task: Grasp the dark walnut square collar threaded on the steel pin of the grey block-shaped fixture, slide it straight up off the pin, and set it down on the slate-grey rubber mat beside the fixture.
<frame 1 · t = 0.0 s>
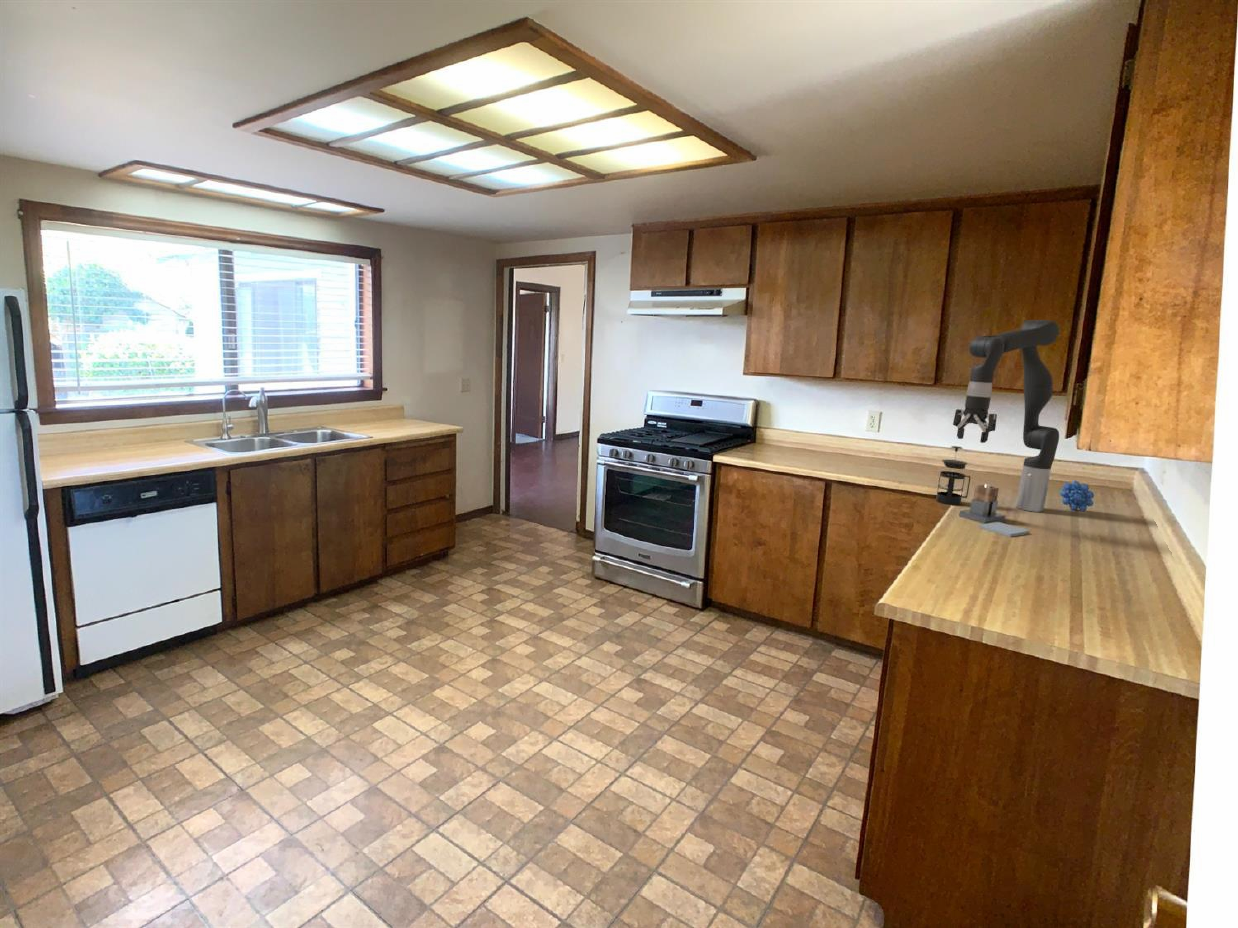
hand: (971, 440, 227), 29 cm above the counter, fingers open, 8 cm apart
mat: (1003, 530, 222), on the counter
collar: (984, 499, 235), point 7 cm above the counter, touching grey block-shaped fixture
french press: (949, 503, 258), on the counter
grey block-shaped fixture: (981, 518, 237), on the counter
grapes: (1074, 511, 255), on the counter
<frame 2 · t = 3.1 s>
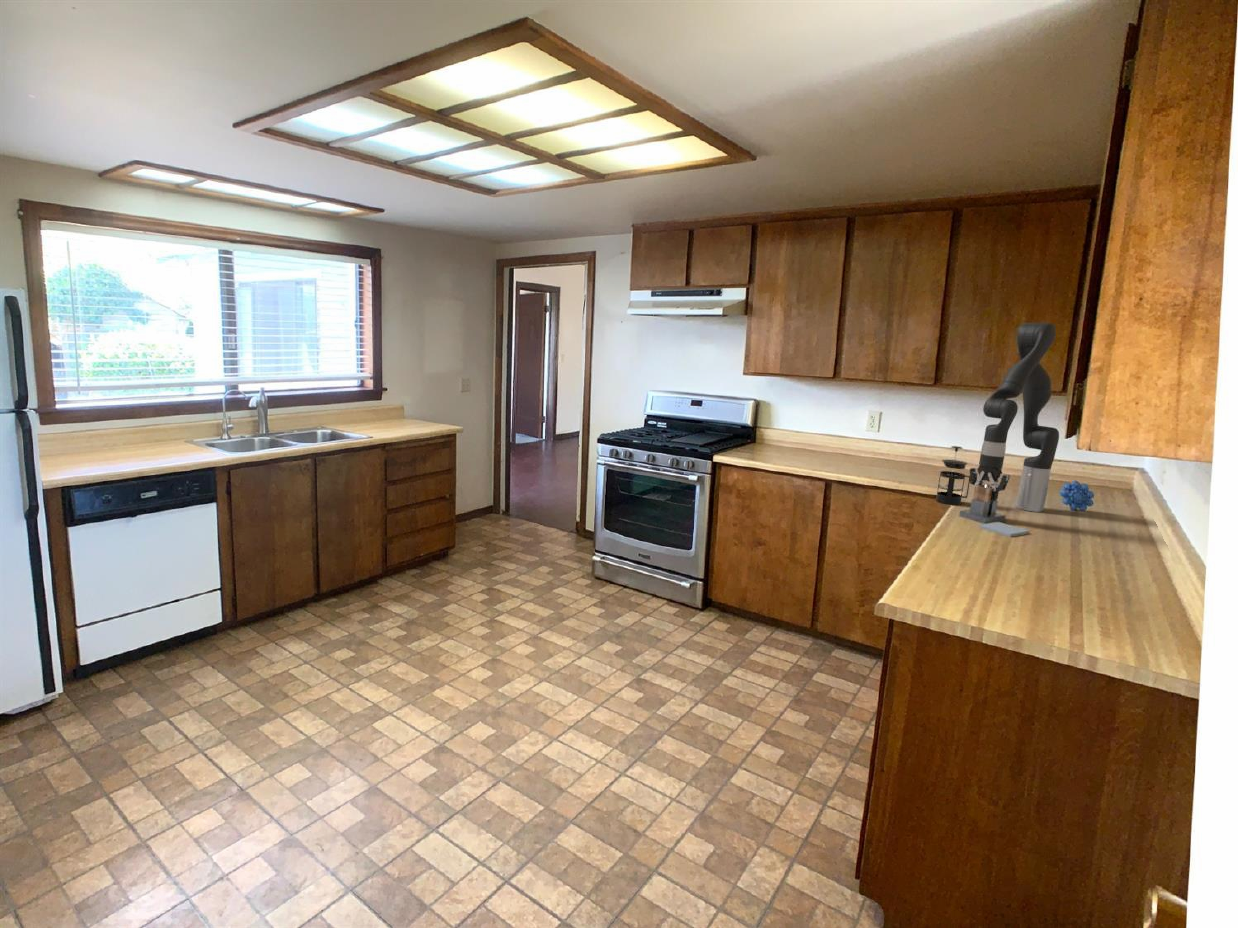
hand: (985, 498, 235), 8 cm above the counter, fingers closed on collar, 5 cm apart
collar: (984, 499, 235), point 7 cm above the counter, touching gripper, grey block-shaped fixture
everything else where it was.
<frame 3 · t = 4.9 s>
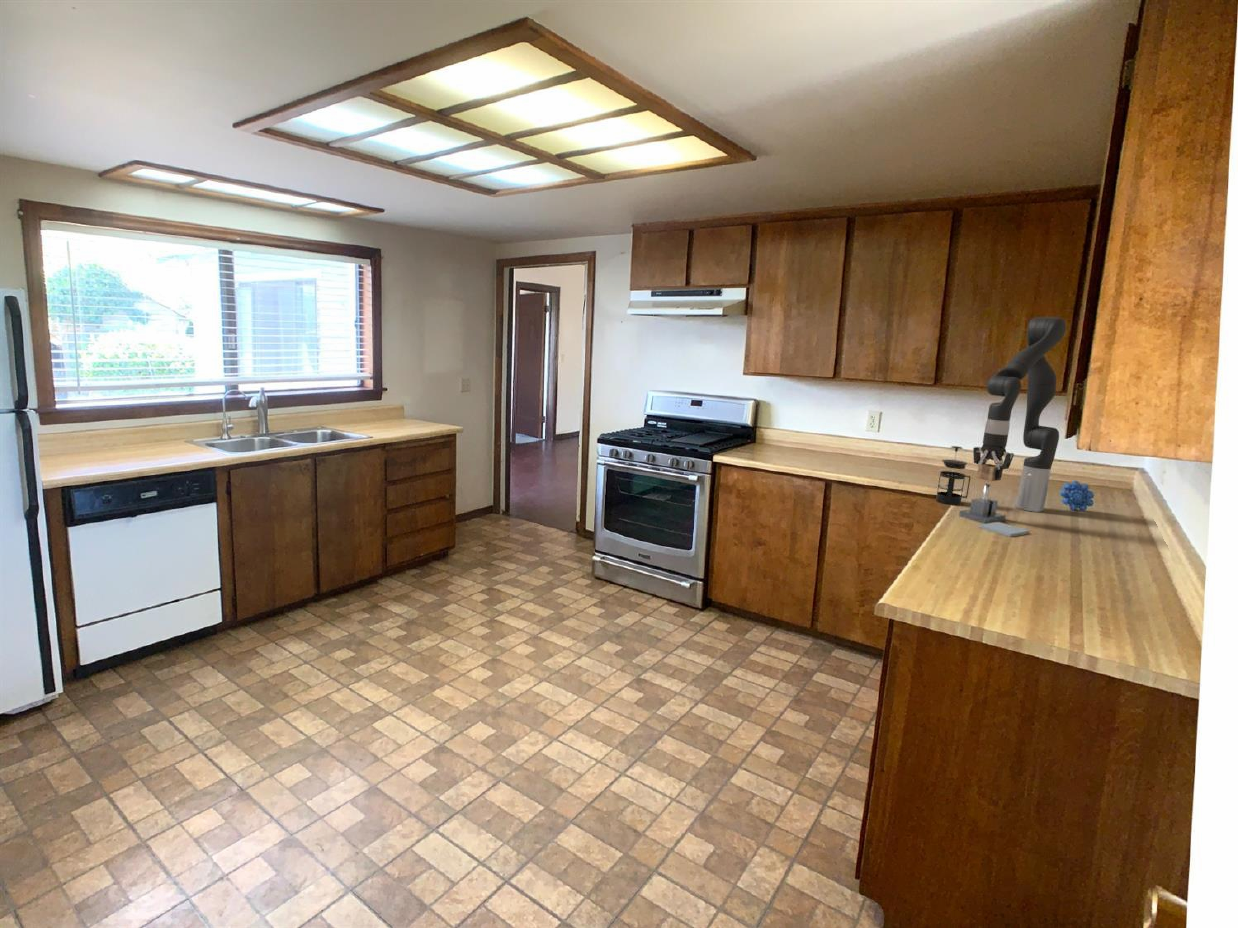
hand: (988, 477, 233), 15 cm above the counter, fingers closed on collar, 5 cm apart
collar: (988, 479, 234), point 15 cm above the counter, touching gripper
everything else where it was.
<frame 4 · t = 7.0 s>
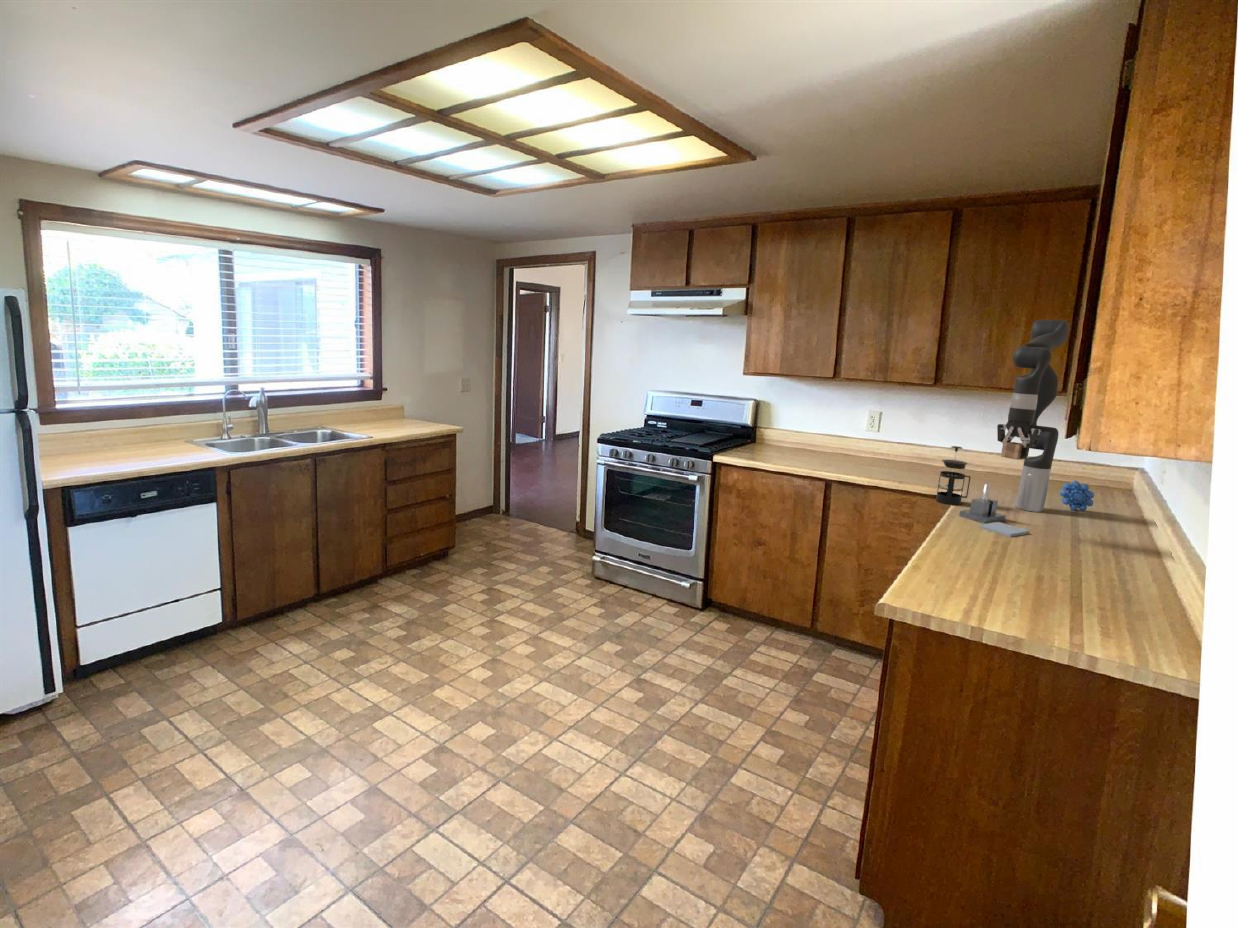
hand: (1014, 456, 217), 26 cm above the counter, fingers closed on collar, 5 cm apart
collar: (1013, 457, 217), point 26 cm above the counter, touching gripper
everything else where it was.
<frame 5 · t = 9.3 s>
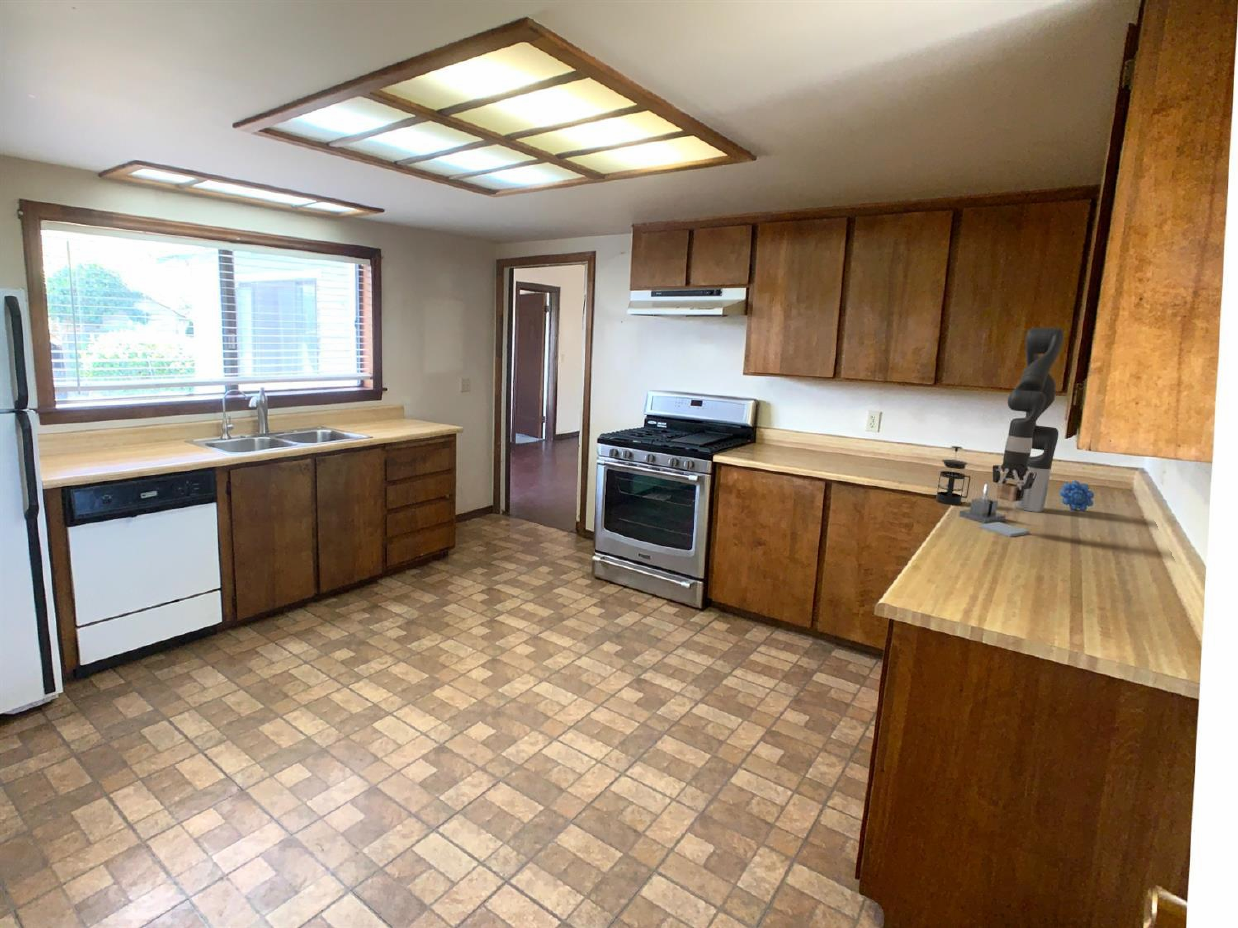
hand: (1009, 497, 219), 12 cm above the counter, fingers closed on collar, 5 cm apart
collar: (1008, 499, 219), point 11 cm above the counter, touching gripper
everything else where it was.
when the fingers open (3 cm above the counter, at t = 11.3 s): collar drops 1 cm, resting on mat.
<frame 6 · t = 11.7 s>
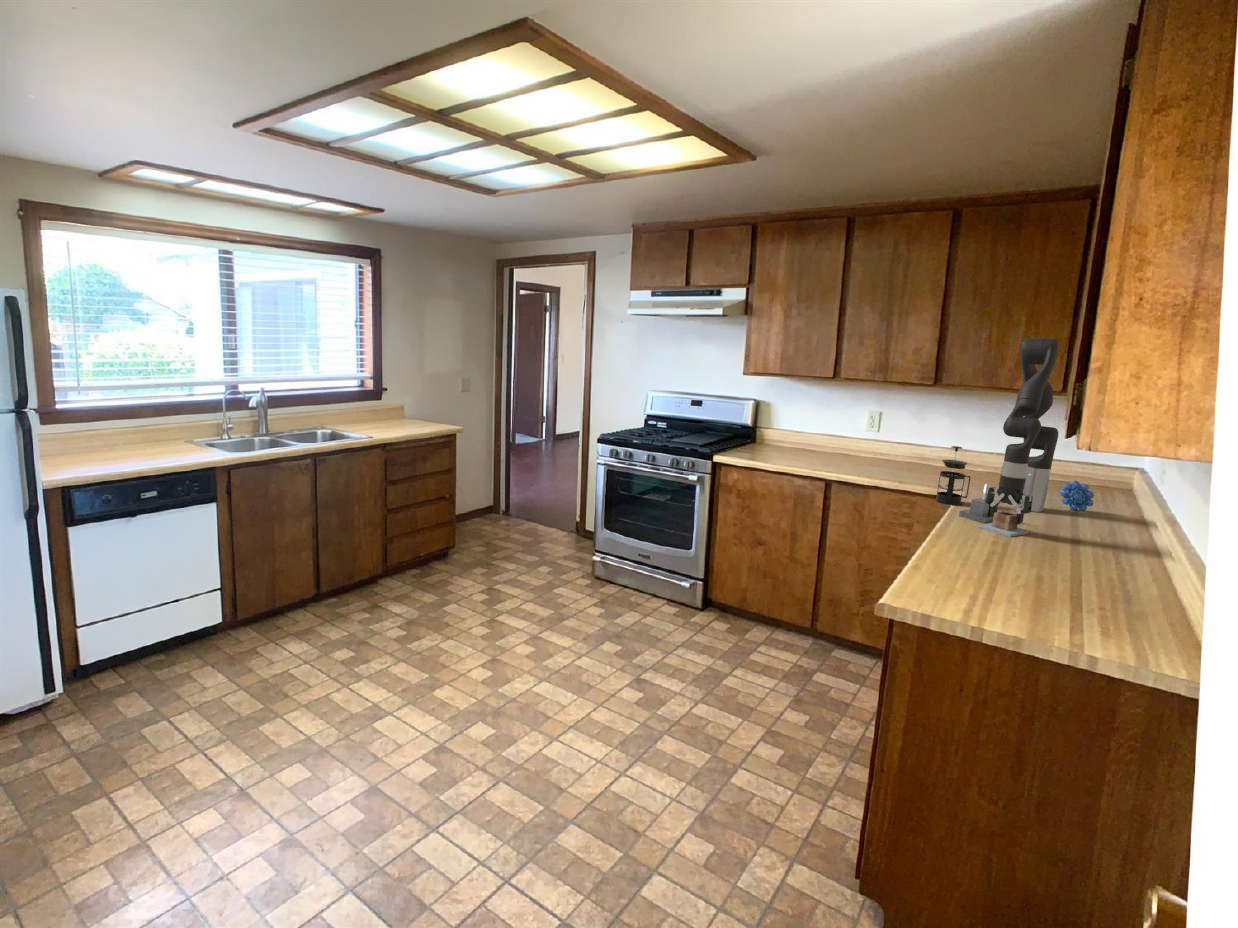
hand: (1005, 520, 221), 4 cm above the counter, fingers open, 8 cm apart
collar: (1004, 527, 221), point 1 cm above the counter, touching mat
everything else where it was.
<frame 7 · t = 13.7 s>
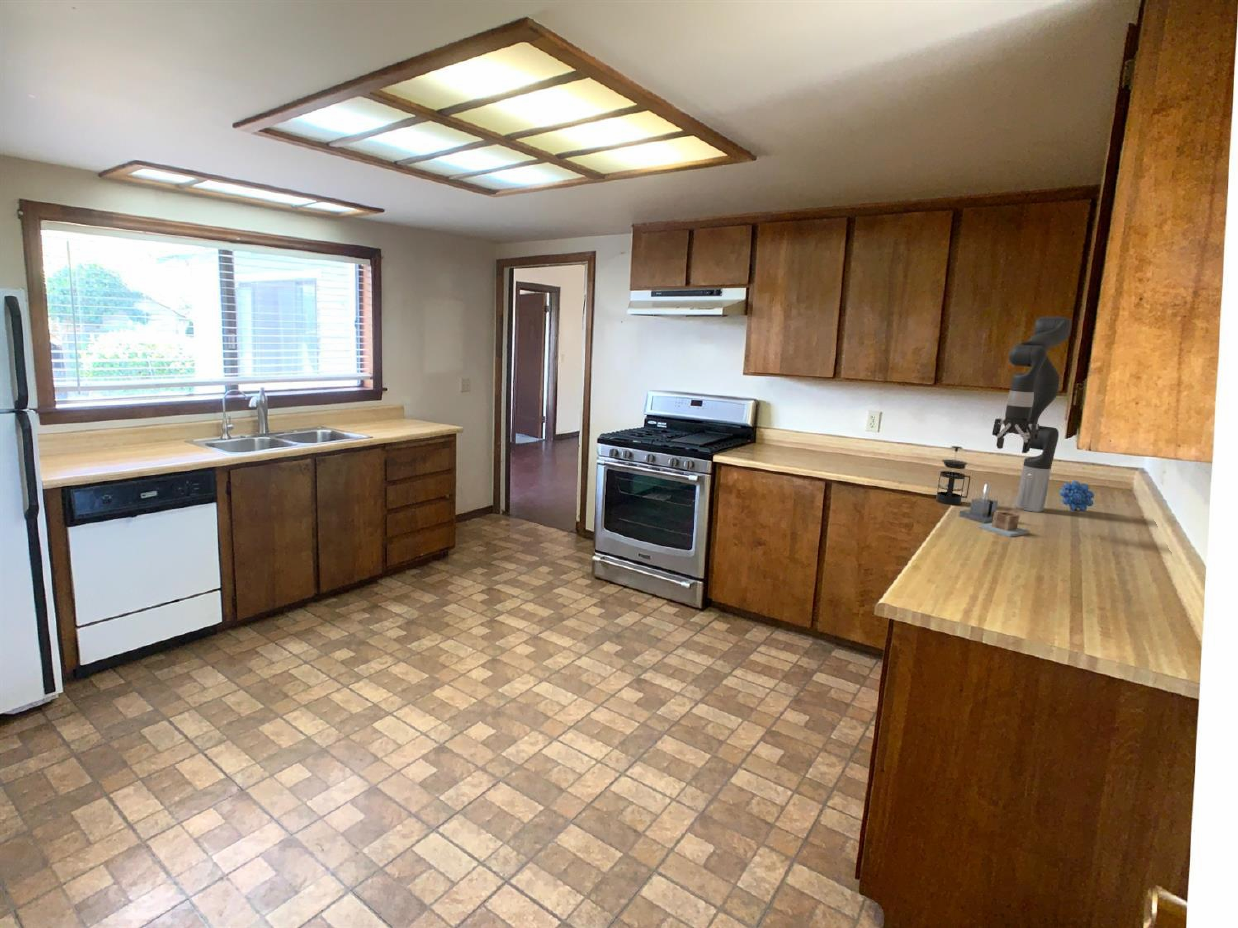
hand: (1012, 450, 223), 27 cm above the counter, fingers open, 8 cm apart
nothing on the counter moved.
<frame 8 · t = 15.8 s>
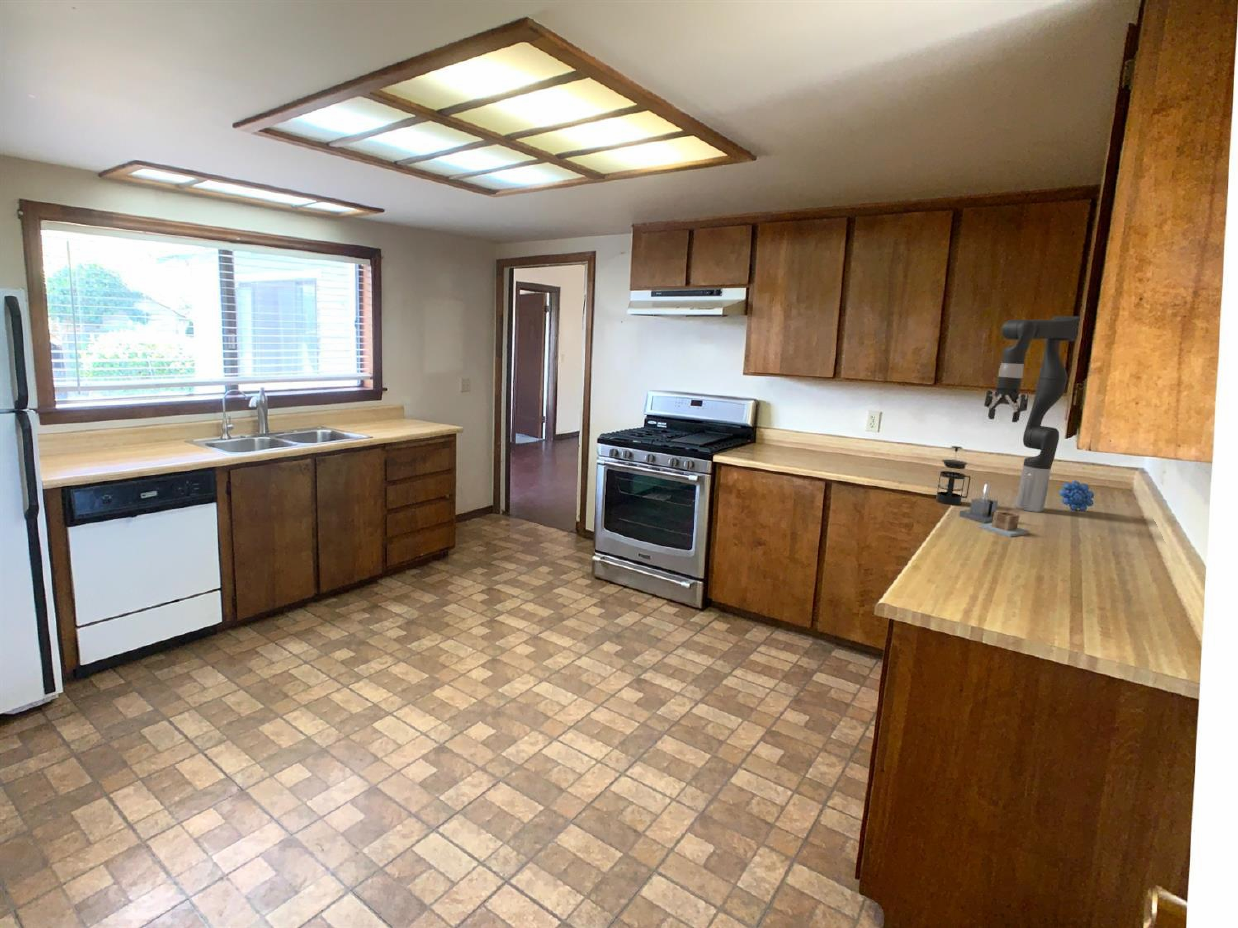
hand: (1002, 420, 234), 36 cm above the counter, fingers open, 8 cm apart
nothing on the counter moved.
at the end: collar inside the target area on the mat (0.1 cm from its centre), point 1.0 cm above the mat's base; collar tilted 0°; the gripper is holding nothing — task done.
